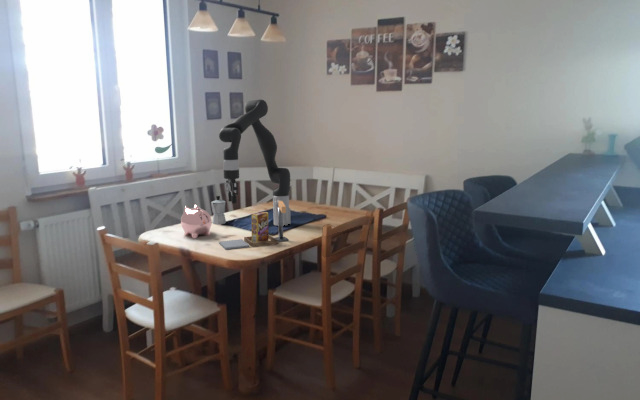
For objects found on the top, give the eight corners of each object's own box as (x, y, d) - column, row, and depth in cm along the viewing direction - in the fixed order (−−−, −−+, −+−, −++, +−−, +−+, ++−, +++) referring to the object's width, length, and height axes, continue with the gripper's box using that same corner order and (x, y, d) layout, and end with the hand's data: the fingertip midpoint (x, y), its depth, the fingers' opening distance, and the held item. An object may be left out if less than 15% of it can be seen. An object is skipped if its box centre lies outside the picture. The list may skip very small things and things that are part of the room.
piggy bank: (200, 230, 288) (198, 203, 286) (217, 235, 276) (216, 206, 273) (175, 235, 278) (174, 206, 275) (192, 240, 265) (191, 210, 263)
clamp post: (284, 238, 268) (283, 205, 265) (288, 240, 262) (287, 207, 260) (273, 239, 265) (272, 206, 263) (277, 242, 260) (276, 208, 257)
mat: (241, 241, 263) (241, 239, 262) (249, 247, 250) (249, 245, 250) (219, 243, 258) (218, 241, 258) (225, 249, 245) (225, 247, 245)
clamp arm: (276, 205, 262) (276, 200, 262) (283, 205, 263) (282, 199, 262) (280, 212, 242) (280, 206, 242) (287, 212, 243) (287, 206, 242)
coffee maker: (220, 228, 294) (219, 197, 291) (207, 227, 297) (205, 197, 294) (232, 223, 308) (231, 194, 305) (220, 222, 311) (218, 193, 308)
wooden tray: (269, 238, 268) (269, 234, 268) (277, 243, 256) (277, 240, 256) (244, 240, 263) (244, 237, 263) (251, 246, 251) (251, 242, 250)
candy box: (257, 244, 255) (256, 215, 252) (251, 243, 257) (250, 214, 255) (269, 241, 262) (268, 212, 260) (262, 240, 264) (262, 211, 262)
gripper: (242, 169, 243) (243, 203, 245) (235, 167, 256) (236, 199, 258) (227, 170, 240) (228, 205, 242) (220, 167, 253) (221, 200, 255)
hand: (232, 202), depth 250 cm, fingers open, 6 cm apart
